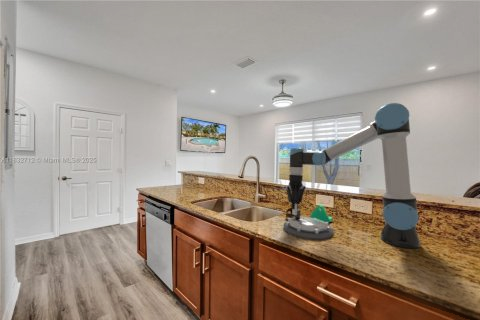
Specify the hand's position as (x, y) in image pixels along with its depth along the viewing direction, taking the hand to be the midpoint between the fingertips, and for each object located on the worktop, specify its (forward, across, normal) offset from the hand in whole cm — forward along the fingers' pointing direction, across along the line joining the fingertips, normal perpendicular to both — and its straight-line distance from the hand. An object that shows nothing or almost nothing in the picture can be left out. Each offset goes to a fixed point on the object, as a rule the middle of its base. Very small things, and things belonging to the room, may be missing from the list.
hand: (294, 214), depth 119 cm
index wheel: (+5, -3, +8) cm, 10 cm away
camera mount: (+7, -24, -5) cm, 26 cm away
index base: (+7, -3, +8) cm, 11 cm away
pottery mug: (+7, -9, -14) cm, 18 cm away
